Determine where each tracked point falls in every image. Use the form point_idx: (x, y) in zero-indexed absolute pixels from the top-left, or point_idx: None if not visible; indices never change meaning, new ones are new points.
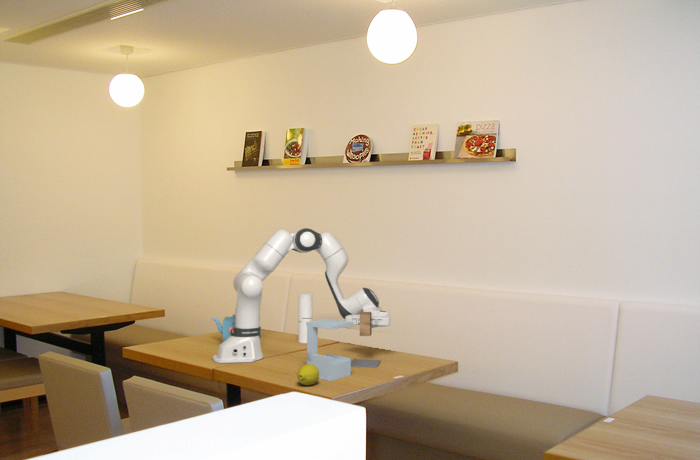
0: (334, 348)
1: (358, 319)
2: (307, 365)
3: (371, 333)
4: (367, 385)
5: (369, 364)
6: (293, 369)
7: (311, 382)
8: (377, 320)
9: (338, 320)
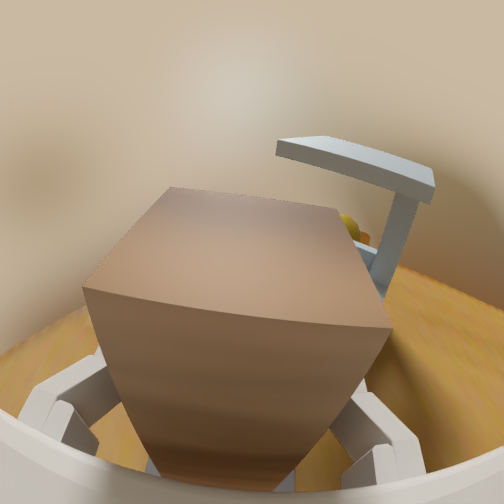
0: None
1: (377, 448)
2: (341, 214)
3: (160, 472)
4: None
5: None
6: (441, 356)
7: None
8: (33, 409)
9: (359, 158)
